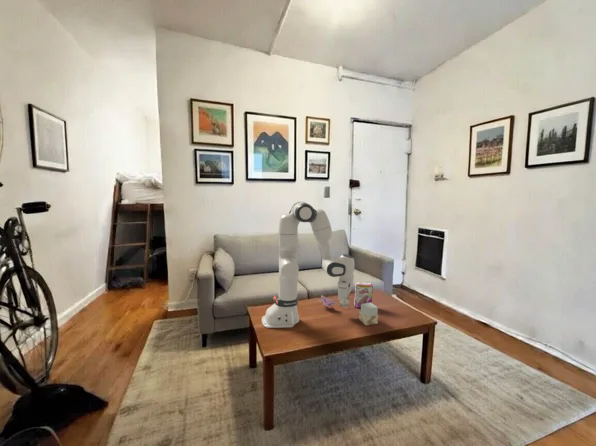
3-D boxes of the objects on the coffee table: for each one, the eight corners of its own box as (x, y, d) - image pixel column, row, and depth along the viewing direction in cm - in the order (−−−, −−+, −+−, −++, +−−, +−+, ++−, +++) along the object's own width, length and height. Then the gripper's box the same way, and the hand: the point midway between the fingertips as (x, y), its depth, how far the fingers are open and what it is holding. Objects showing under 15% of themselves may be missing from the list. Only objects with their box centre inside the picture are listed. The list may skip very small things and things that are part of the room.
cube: (347, 308, 164) (348, 300, 163) (339, 306, 166) (339, 298, 165) (349, 305, 169) (349, 297, 168) (341, 303, 170) (341, 295, 170)
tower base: (365, 325, 157) (366, 317, 157) (358, 319, 165) (359, 311, 165) (377, 323, 160) (378, 315, 159) (370, 317, 167) (370, 310, 167)
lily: (339, 313, 174) (340, 298, 178) (326, 310, 168) (327, 295, 171) (326, 313, 183) (327, 298, 187) (313, 310, 177) (315, 295, 180)
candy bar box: (354, 308, 181) (355, 284, 179) (354, 304, 186) (355, 281, 184) (371, 309, 180) (373, 285, 178) (370, 305, 185) (371, 282, 183)
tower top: (367, 316, 157) (367, 308, 157) (360, 311, 164) (361, 303, 164) (377, 315, 160) (377, 307, 159) (370, 310, 166) (371, 302, 166)
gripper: (344, 275, 176) (343, 295, 178) (336, 284, 157) (335, 307, 159) (354, 277, 174) (353, 297, 175) (347, 286, 155) (345, 309, 157)
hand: (344, 302), depth 167 cm, fingers closed on cube, 5 cm apart
